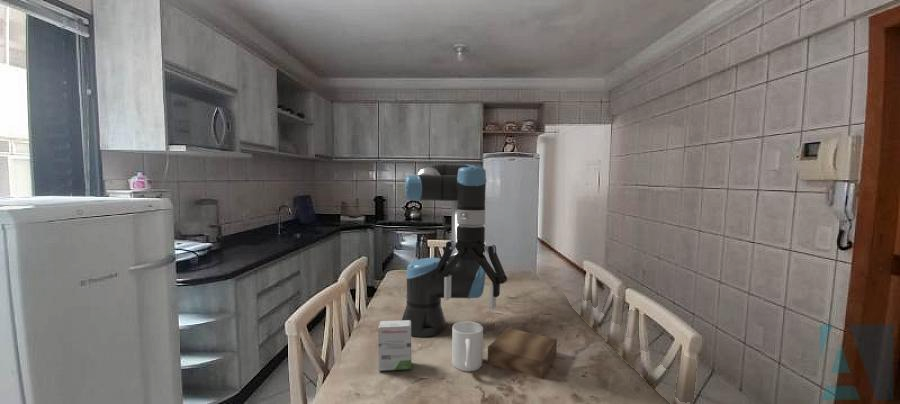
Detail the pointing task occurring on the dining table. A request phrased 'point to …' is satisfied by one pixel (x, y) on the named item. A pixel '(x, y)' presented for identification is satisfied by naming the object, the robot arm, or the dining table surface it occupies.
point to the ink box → (394, 345)
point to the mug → (467, 345)
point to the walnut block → (523, 352)
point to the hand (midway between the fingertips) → (469, 303)
